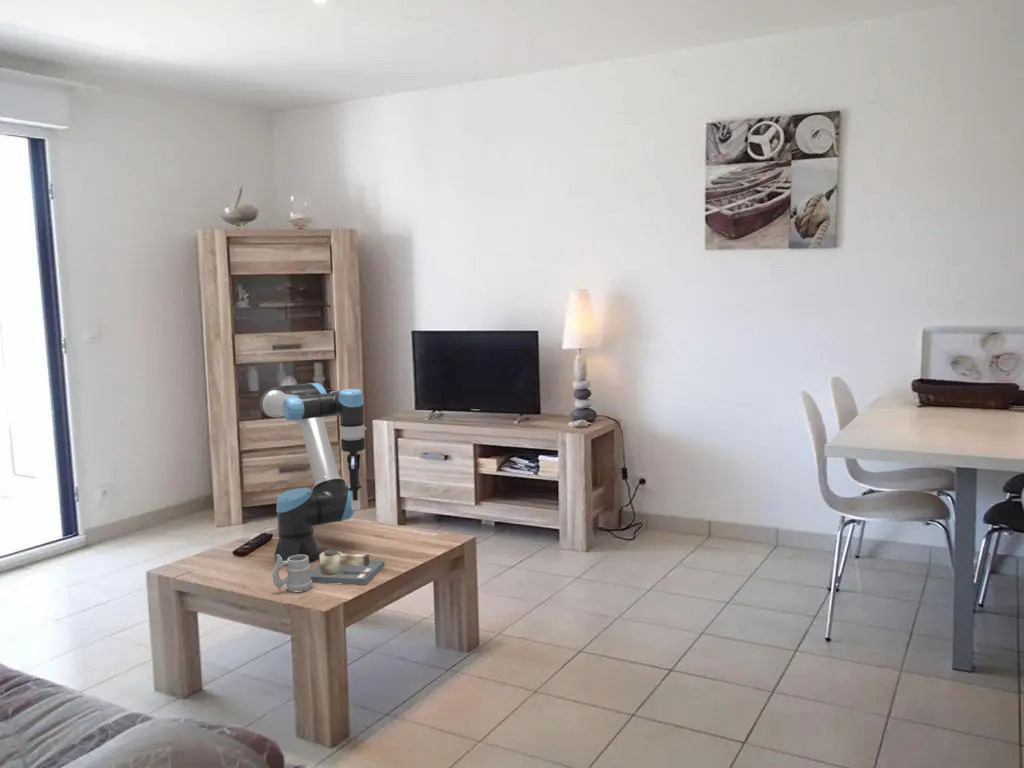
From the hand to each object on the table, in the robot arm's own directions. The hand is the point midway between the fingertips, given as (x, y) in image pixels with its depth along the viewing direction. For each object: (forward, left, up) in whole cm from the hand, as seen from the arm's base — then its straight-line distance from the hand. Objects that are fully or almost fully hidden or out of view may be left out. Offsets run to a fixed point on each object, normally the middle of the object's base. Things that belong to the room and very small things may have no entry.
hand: (355, 508), depth 275 cm
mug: (-14, -20, -21) cm, 32 cm away
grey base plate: (-3, -5, -20) cm, 21 cm away
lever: (-1, -9, -18) cm, 20 cm away
